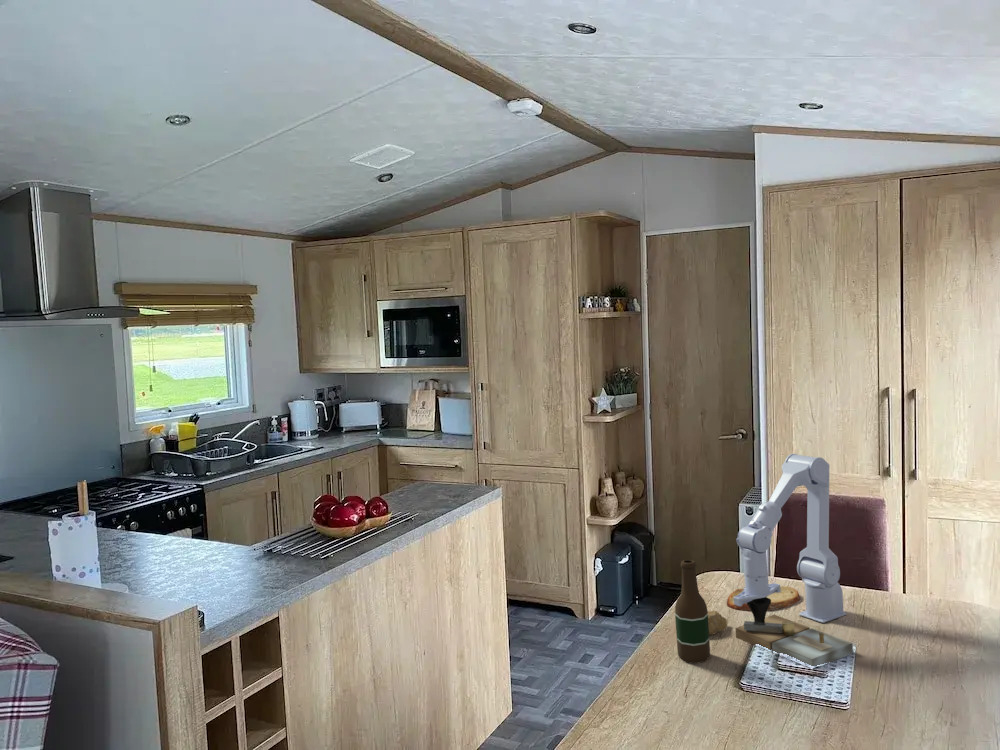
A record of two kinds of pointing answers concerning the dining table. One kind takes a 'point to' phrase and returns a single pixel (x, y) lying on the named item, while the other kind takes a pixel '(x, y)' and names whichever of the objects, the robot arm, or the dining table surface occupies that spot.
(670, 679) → the dining table surface
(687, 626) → the beer bottle
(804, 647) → the door mockup
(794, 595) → the slice of bread
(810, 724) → the dining table surface
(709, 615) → the stone tool
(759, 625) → the bar
